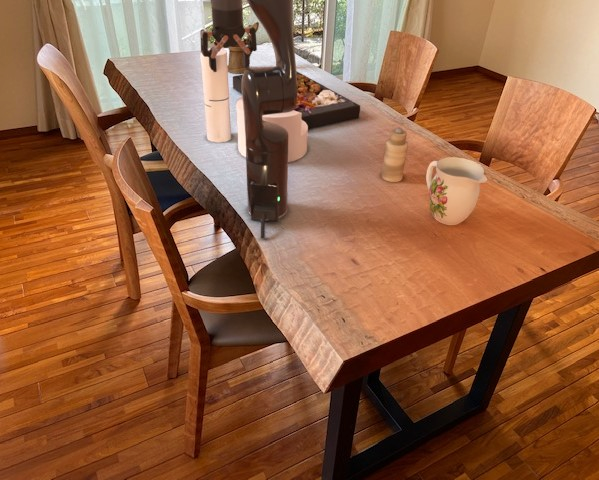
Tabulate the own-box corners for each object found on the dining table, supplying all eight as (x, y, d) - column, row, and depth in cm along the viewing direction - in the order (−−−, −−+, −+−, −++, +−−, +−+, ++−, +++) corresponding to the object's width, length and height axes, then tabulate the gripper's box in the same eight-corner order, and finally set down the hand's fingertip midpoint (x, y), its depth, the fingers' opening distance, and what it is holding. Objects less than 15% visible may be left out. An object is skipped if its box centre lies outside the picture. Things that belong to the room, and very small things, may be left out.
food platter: (359, 118, 165) (362, 87, 159) (296, 132, 154) (297, 100, 148) (289, 78, 196) (290, 51, 189) (233, 88, 185) (231, 59, 179)
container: (320, 146, 146) (323, 102, 138) (277, 170, 133) (277, 123, 125) (269, 128, 156) (269, 86, 148) (223, 149, 143) (221, 104, 135)
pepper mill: (402, 182, 130) (411, 133, 122) (381, 181, 131) (388, 131, 122) (401, 172, 135) (410, 124, 126) (380, 171, 135) (388, 122, 127)
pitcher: (440, 193, 127) (452, 143, 119) (489, 230, 113) (505, 177, 105) (404, 201, 123) (413, 150, 115) (450, 240, 110) (464, 186, 102)
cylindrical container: (226, 143, 146) (221, 56, 131) (203, 140, 147) (196, 54, 132) (234, 134, 152) (230, 49, 137) (211, 131, 153) (205, 47, 138)
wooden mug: (263, 71, 202) (262, 24, 191) (230, 74, 197) (228, 26, 187) (256, 65, 208) (255, 19, 198) (224, 67, 204) (222, 21, 193)
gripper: (202, 11, 116) (207, 78, 127) (259, 6, 120) (260, 71, 131) (194, 1, 121) (200, 66, 132) (249, -3, 125) (251, 60, 136)
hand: (230, 69), depth 131 cm, fingers open, 8 cm apart
